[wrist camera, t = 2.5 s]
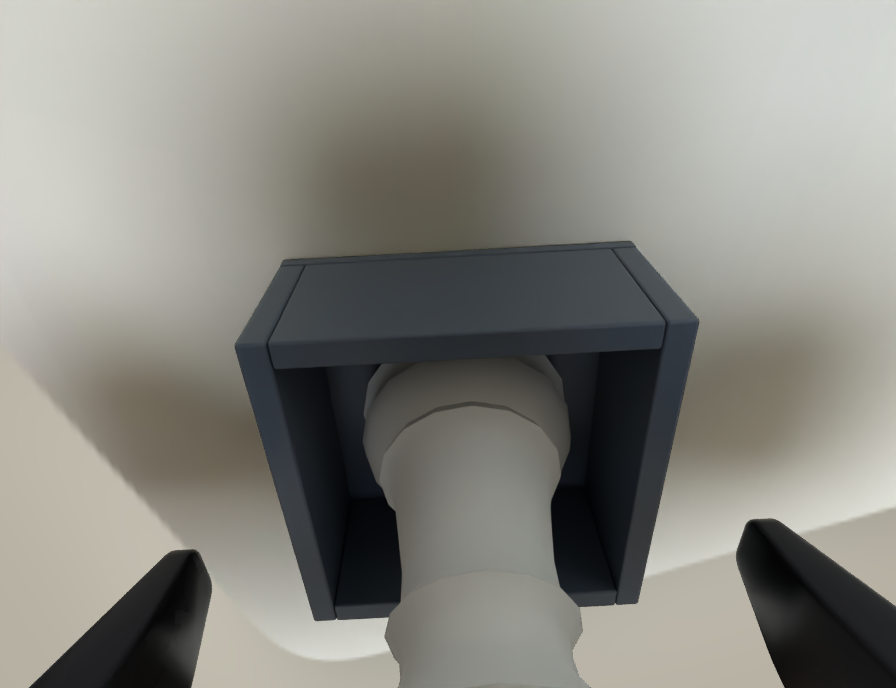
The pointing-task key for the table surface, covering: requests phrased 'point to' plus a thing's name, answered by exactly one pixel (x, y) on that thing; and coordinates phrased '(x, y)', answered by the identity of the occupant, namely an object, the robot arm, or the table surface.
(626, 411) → the tote
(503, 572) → the rook chess piece
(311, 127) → the table surface
